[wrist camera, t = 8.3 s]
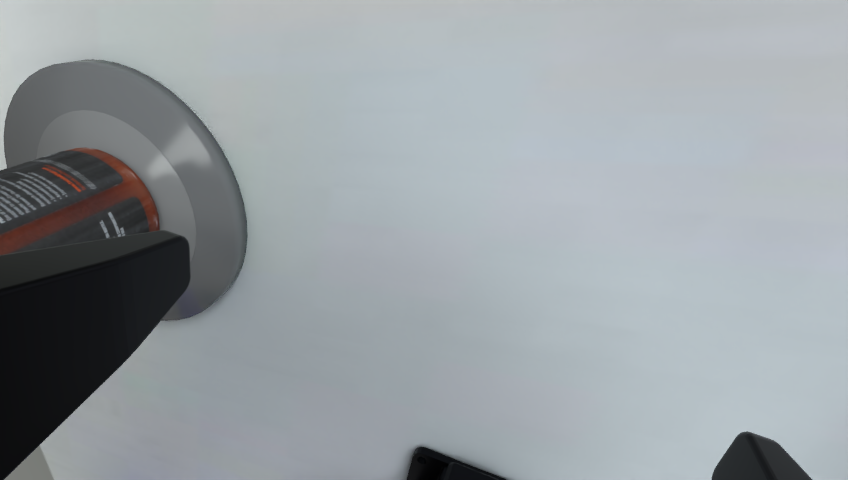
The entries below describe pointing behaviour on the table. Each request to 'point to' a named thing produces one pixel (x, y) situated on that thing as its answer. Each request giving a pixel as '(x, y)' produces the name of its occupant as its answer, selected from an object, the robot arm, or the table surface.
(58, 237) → the supplement bottle
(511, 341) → the table surface
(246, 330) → the table surface
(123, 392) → the table surface
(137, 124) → the plate
